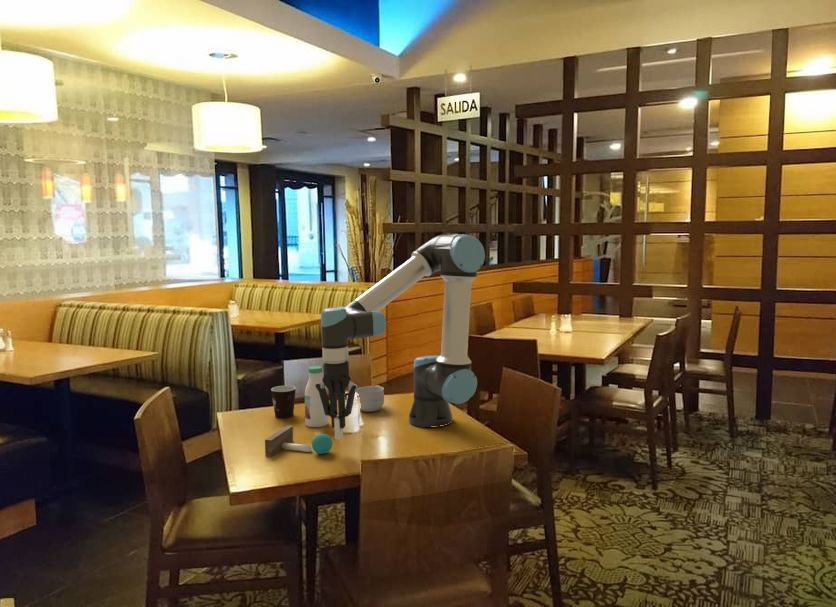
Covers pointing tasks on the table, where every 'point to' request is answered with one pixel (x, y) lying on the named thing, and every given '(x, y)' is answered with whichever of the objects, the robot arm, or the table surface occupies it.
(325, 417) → the milk bottle
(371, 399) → the teacup
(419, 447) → the table surface
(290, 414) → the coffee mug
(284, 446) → the pin
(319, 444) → the ball
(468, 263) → the robot arm
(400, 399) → the table surface
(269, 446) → the back wall
